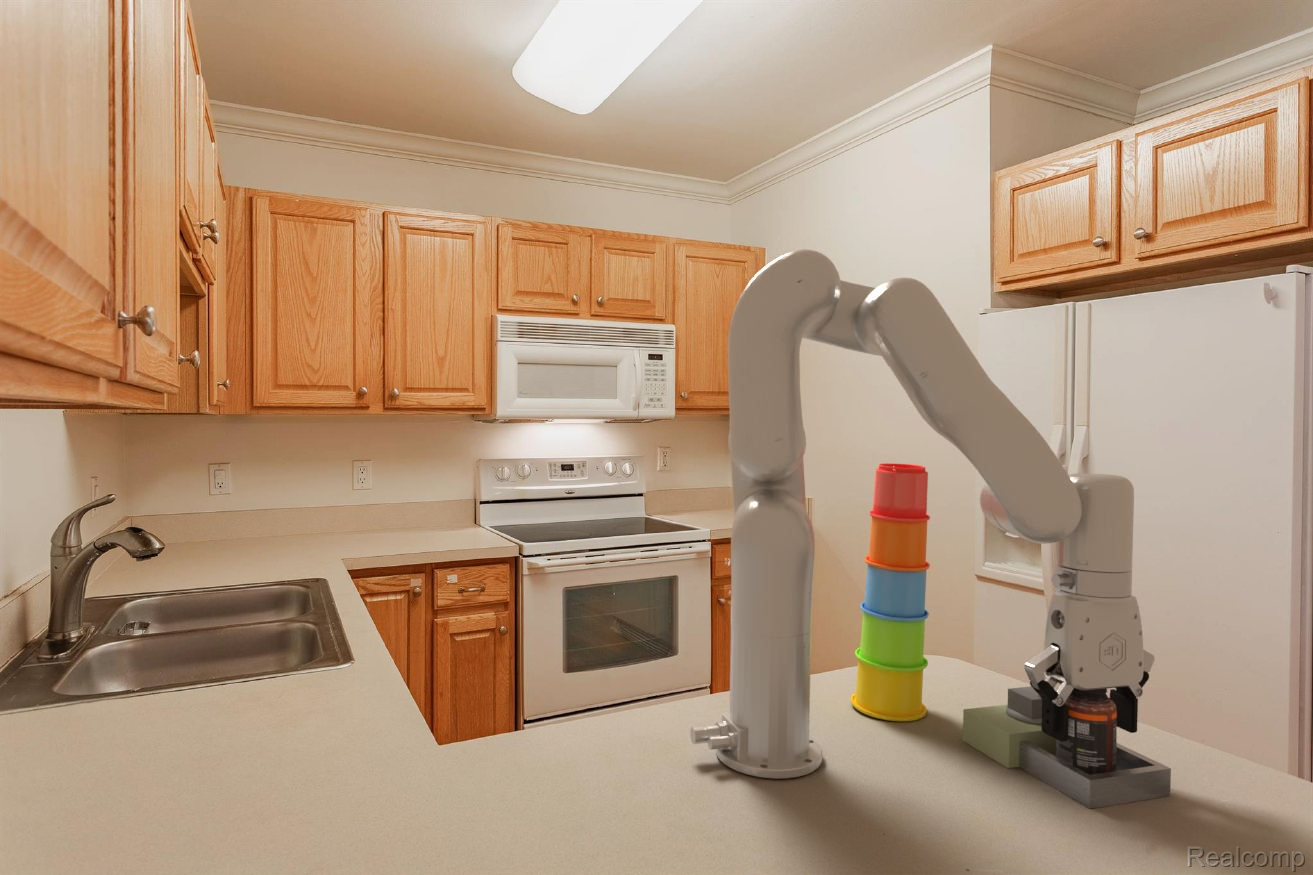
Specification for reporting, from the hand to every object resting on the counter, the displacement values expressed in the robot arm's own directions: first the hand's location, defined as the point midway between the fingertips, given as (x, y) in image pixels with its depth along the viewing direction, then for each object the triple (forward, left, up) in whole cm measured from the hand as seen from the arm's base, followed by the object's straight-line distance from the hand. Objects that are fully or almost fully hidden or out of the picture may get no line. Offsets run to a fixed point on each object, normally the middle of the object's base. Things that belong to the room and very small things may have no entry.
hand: (1089, 732), depth 86 cm
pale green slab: (0, +9, -5) cm, 10 cm away
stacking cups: (-10, +25, -5) cm, 27 cm away
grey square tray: (0, 0, -5) cm, 5 cm away
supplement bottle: (0, 0, -5) cm, 5 cm away
